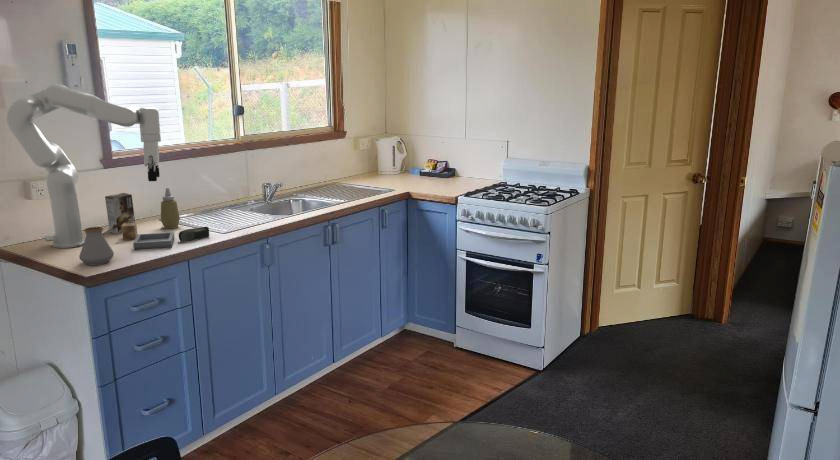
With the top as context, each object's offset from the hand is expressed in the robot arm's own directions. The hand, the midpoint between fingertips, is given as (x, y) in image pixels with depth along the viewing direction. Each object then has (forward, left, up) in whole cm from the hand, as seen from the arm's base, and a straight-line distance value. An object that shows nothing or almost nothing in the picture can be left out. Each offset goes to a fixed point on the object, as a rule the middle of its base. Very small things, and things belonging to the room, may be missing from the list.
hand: (154, 179), depth 258 cm
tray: (-1, -11, -25) cm, 28 cm away
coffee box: (-17, +16, -26) cm, 35 cm away
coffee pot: (-15, -28, -26) cm, 40 cm away
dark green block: (+14, -8, -26) cm, 30 cm away
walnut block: (-12, +2, -25) cm, 28 cm away
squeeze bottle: (+3, +17, -26) cm, 31 cm away
